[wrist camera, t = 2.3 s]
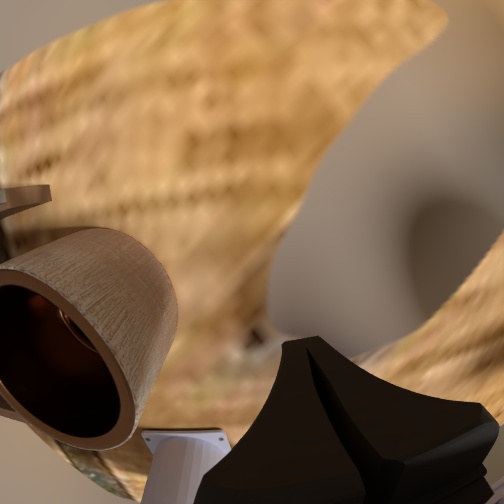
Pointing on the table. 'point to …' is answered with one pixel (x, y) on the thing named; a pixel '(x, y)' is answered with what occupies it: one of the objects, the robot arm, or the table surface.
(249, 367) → the table surface
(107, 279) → the planter
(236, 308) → the table surface
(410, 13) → the table surface
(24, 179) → the table surface
